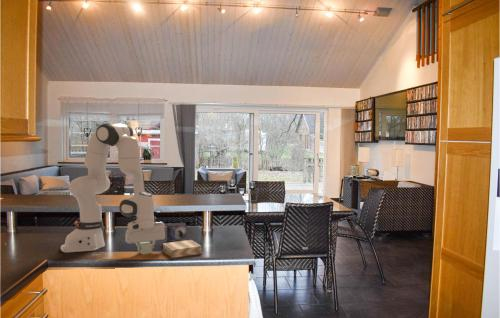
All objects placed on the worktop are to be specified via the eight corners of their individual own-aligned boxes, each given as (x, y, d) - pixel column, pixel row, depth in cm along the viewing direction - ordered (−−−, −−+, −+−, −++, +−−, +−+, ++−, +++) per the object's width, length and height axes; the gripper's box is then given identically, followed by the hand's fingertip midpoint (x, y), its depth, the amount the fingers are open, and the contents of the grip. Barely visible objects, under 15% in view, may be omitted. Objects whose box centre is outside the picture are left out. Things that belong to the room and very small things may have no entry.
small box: (167, 244, 237) (167, 225, 236) (166, 241, 243) (166, 223, 242) (186, 243, 240) (186, 224, 239) (185, 240, 246) (185, 222, 245)
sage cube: (142, 254, 217) (142, 244, 217) (139, 252, 222) (139, 242, 221) (151, 253, 220) (151, 243, 219) (149, 250, 224) (149, 241, 224)
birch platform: (171, 257, 212) (171, 250, 212) (163, 250, 224) (163, 243, 224) (201, 253, 220) (201, 246, 220) (191, 246, 232) (191, 239, 232)
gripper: (163, 220, 227) (163, 245, 228) (124, 224, 217) (124, 250, 218) (166, 222, 222) (166, 248, 223) (127, 226, 212) (127, 253, 213)
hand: (145, 249), depth 221 cm, fingers closed on sage cube, 5 cm apart
